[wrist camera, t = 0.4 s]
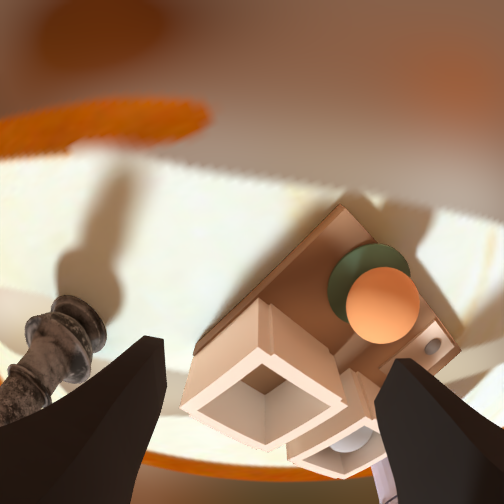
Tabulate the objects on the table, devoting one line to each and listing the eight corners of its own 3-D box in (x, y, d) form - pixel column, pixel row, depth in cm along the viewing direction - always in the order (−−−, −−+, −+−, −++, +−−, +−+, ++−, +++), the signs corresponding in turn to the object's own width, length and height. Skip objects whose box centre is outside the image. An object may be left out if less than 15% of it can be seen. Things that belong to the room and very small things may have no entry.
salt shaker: (37, 304, 19) (-52, 397, 8) (80, 281, 18) (-29, 394, 7) (77, 360, 21) (11, 464, 10) (124, 346, 20) (55, 477, 9)
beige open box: (335, 354, 18) (351, 404, 14) (265, 404, 20) (265, 453, 16) (260, 295, 17) (261, 344, 13) (191, 358, 19) (177, 409, 14)
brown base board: (460, 337, 19) (468, 348, 18) (339, 430, 23) (342, 442, 22) (347, 195, 16) (355, 201, 14) (195, 344, 20) (191, 358, 18)
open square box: (396, 399, 20) (413, 440, 16) (334, 439, 22) (341, 480, 18) (351, 366, 19) (368, 414, 14) (282, 414, 20) (285, 461, 16)
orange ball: (412, 284, 16) (444, 319, 12) (365, 328, 17) (385, 370, 13) (376, 241, 15) (407, 271, 11) (324, 291, 16) (340, 333, 13)
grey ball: (375, 403, 20) (388, 441, 16) (337, 428, 21) (345, 465, 18) (347, 384, 19) (360, 426, 16) (306, 412, 20) (312, 453, 17)
